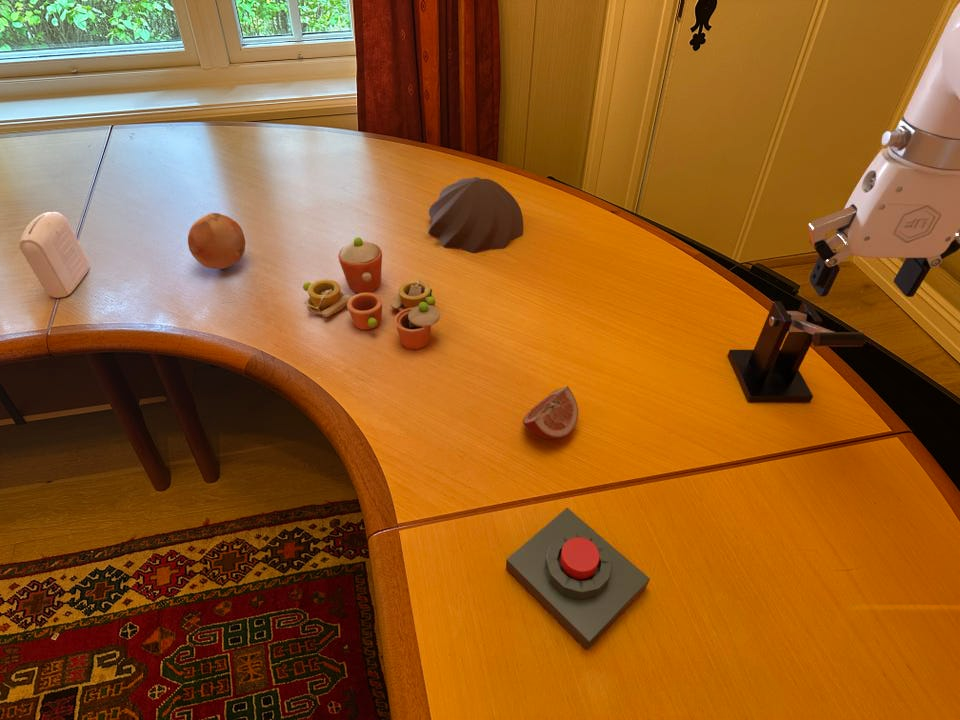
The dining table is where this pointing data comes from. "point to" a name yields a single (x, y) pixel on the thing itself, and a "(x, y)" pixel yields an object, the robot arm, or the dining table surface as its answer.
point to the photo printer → (54, 254)
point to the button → (579, 558)
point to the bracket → (776, 359)
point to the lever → (824, 332)
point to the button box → (571, 600)
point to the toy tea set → (375, 296)
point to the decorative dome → (475, 216)
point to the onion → (216, 241)
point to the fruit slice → (553, 415)
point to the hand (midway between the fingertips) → (859, 289)
